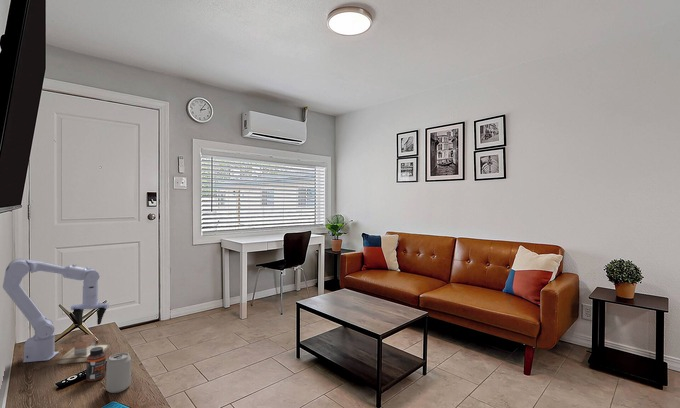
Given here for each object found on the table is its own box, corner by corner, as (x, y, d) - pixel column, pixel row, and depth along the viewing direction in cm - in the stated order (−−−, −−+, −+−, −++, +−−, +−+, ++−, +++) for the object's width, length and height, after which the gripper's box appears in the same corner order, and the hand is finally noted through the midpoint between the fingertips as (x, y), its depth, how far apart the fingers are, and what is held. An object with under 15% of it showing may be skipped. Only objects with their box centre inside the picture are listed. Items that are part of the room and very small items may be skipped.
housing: (74, 356, 144) (74, 342, 144) (83, 348, 152) (83, 335, 152) (86, 355, 145) (86, 341, 145) (94, 347, 153) (95, 334, 153)
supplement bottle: (95, 383, 127) (95, 352, 127) (82, 381, 128) (82, 351, 128) (109, 375, 132) (109, 346, 132) (96, 373, 134) (97, 344, 134)
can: (126, 380, 129) (126, 349, 128) (133, 388, 124) (134, 355, 124) (103, 389, 123) (103, 356, 123) (110, 396, 118) (110, 362, 118)
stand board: (57, 363, 141) (57, 359, 141) (74, 349, 154) (74, 346, 154) (96, 360, 144) (96, 356, 144) (109, 346, 158) (109, 343, 158)
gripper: (67, 298, 151) (67, 328, 152) (104, 296, 155) (104, 326, 155) (75, 294, 158) (75, 323, 158) (110, 292, 162) (110, 321, 162)
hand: (89, 324), depth 157 cm, fingers open, 7 cm apart
